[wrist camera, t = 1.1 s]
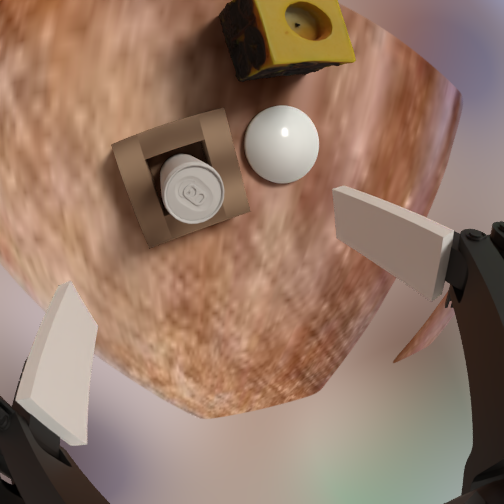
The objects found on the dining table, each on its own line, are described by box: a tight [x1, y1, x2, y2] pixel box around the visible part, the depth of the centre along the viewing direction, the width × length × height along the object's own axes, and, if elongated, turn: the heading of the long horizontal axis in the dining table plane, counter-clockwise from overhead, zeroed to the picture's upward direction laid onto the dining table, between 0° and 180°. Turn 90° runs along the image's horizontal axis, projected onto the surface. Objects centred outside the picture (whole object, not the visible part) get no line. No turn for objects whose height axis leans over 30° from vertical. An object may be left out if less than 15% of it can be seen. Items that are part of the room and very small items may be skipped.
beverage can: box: [160, 154, 224, 224], centre depth 24 cm, size 5×5×12 cm
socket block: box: [111, 108, 251, 249], centre depth 28 cm, size 12×12×4 cm
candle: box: [219, 0, 356, 82], centre depth 21 cm, size 10×10×10 cm
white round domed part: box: [244, 105, 319, 183], centre depth 32 cm, size 10×10×1 cm
